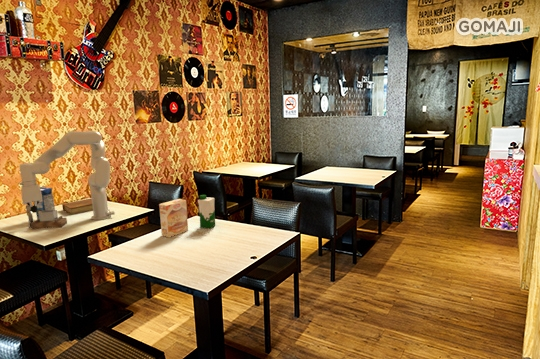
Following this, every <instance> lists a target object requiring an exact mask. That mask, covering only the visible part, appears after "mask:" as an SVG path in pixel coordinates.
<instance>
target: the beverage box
mask: <svg viewBox="0 0 540 359" xmlns="http://www.w3.org/2000/svg"><path fill="white" fill-rule="evenodd" d="M39 187H40V190H41V194H42V200H43V201H42V202H39V203H38V204H37V211H36V213H35V214H36V220H37V219H39V212H41V211H42V210H56V208H55V207H56V206H55V200H54V193H53V188H52V187H47V186H39Z"/></svg>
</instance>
